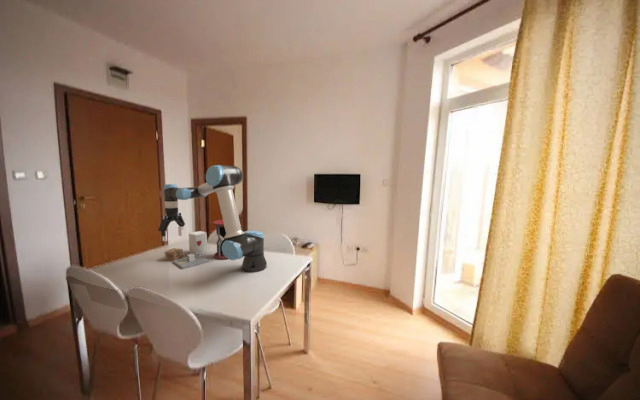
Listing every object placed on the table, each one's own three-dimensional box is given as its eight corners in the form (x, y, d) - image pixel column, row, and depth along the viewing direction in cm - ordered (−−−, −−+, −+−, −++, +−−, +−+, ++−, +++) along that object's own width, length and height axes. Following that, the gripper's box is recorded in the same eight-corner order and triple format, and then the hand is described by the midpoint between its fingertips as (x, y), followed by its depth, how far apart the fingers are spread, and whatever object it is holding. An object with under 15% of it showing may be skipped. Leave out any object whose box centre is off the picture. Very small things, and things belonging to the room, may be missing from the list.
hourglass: (228, 260, 163) (227, 224, 160) (209, 258, 167) (207, 222, 165) (242, 253, 178) (242, 220, 175) (224, 251, 183) (223, 218, 180)
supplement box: (195, 255, 173) (194, 234, 171) (189, 253, 177) (188, 233, 176) (207, 252, 180) (206, 232, 178) (200, 249, 185) (200, 230, 183)
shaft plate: (198, 256, 171) (198, 249, 170) (208, 261, 160) (208, 254, 160) (173, 262, 159) (172, 254, 158) (182, 269, 148) (182, 260, 148)
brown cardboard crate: (173, 256, 170) (173, 247, 169) (182, 257, 168) (182, 248, 168) (165, 260, 163) (165, 251, 162) (174, 261, 161) (174, 251, 161)
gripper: (180, 204, 174) (181, 233, 177) (150, 209, 150) (152, 243, 152) (189, 205, 173) (191, 234, 175) (160, 210, 149) (162, 243, 151)
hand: (173, 238), depth 164 cm, fingers open, 13 cm apart
